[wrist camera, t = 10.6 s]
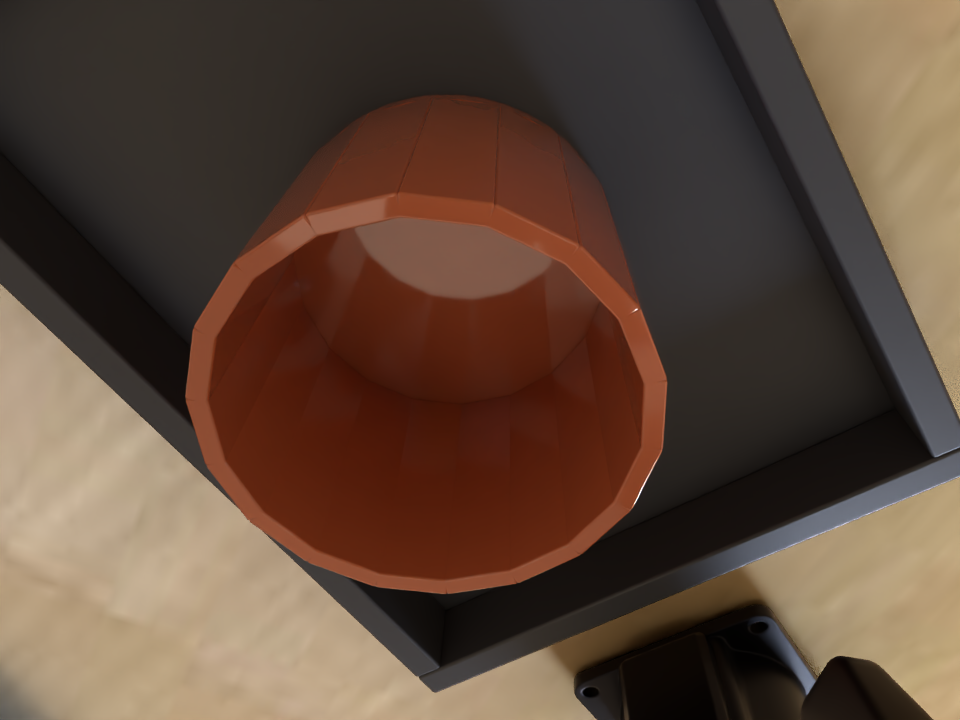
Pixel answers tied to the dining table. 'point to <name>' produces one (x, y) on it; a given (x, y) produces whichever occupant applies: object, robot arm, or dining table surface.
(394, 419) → the big cup
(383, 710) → the dining table surface
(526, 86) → the tray
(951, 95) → the dining table surface
